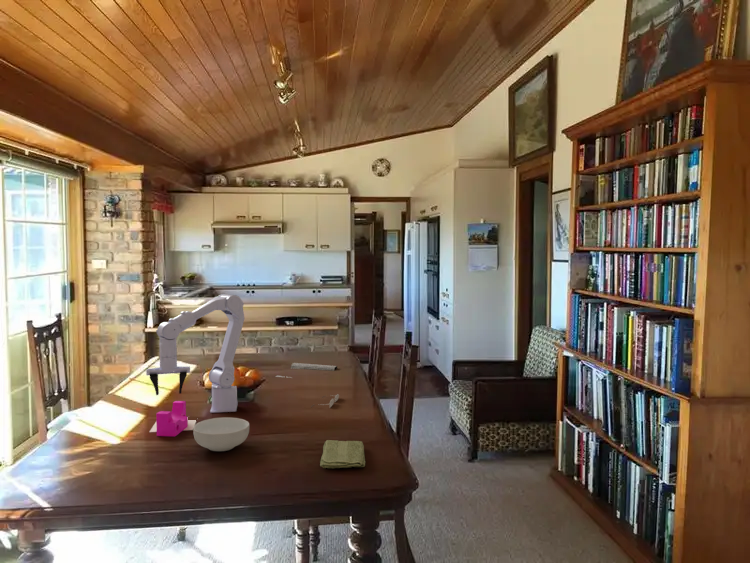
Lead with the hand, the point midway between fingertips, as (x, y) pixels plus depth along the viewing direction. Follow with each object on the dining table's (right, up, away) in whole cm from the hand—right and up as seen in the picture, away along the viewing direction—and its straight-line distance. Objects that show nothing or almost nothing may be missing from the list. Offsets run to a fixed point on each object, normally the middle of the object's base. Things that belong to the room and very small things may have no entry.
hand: (168, 393), depth 200 cm
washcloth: (+64, -13, -34) cm, 74 cm away
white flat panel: (+3, -10, -1) cm, 10 cm away
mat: (+41, -7, +70) cm, 81 cm away
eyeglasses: (+54, -10, +22) cm, 59 cm away
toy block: (+5, -11, -8) cm, 14 cm away
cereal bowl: (+26, -12, -26) cm, 38 cm away
